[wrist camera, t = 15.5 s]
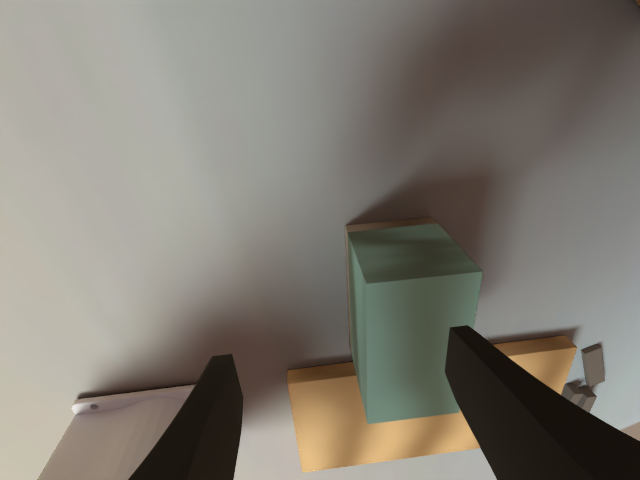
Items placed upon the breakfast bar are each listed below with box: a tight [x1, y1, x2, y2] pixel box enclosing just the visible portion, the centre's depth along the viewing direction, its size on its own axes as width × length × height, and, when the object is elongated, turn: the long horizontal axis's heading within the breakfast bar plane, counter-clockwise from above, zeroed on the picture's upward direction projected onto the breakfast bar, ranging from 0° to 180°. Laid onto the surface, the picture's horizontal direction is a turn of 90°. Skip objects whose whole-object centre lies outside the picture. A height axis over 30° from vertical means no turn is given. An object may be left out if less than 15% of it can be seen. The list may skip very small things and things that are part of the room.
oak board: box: [287, 335, 577, 473], centre depth 27 cm, size 20×10×1 cm, turn 94°
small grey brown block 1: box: [581, 344, 605, 387], centre depth 27 cm, size 1×4×1 cm, turn 25°
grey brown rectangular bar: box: [561, 384, 583, 405], centre depth 29 cm, size 1×4×1 cm
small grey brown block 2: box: [577, 387, 597, 412], centre depth 29 cm, size 1×4×1 cm
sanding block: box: [345, 217, 483, 424], centre depth 20 cm, size 5×9×6 cm, turn 4°
